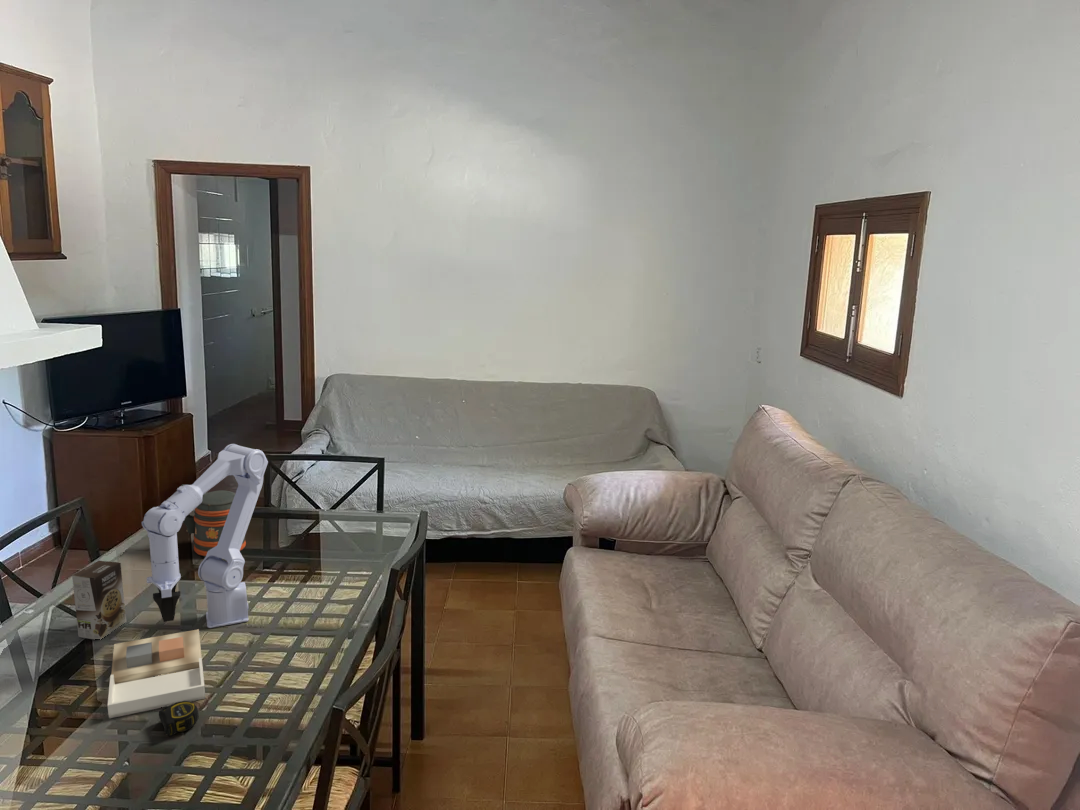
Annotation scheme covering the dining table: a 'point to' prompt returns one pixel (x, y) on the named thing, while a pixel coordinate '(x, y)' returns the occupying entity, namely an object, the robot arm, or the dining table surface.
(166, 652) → the tile terracotta
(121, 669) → the deck
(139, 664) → the tile slate
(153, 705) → the box
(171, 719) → the tape measure
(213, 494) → the beer stein
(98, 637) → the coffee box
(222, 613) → the robot arm
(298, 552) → the dining table surface
